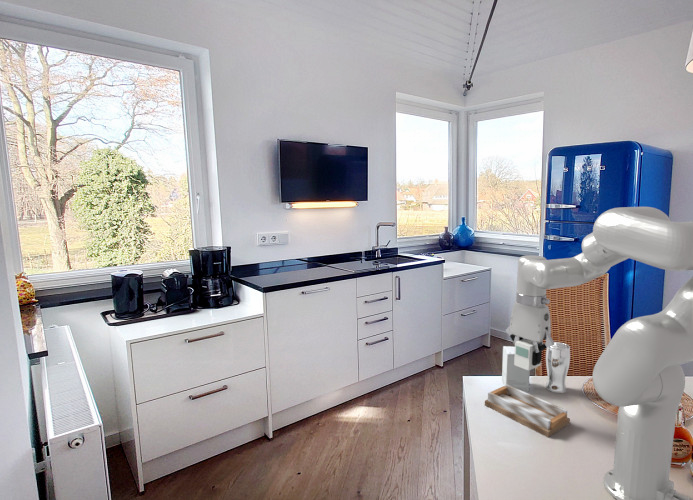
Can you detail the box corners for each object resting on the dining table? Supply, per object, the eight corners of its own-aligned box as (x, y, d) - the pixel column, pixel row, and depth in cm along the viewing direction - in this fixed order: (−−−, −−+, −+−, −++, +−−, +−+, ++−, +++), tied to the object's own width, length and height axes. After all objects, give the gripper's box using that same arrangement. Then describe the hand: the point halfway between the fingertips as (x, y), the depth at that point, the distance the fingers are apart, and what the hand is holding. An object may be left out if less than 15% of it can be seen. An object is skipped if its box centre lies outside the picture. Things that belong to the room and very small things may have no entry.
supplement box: (529, 392, 130) (531, 355, 128) (505, 390, 132) (506, 353, 130) (524, 381, 137) (525, 346, 135) (501, 380, 139) (502, 345, 137)
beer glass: (567, 396, 127) (570, 351, 125) (543, 391, 131) (545, 347, 129) (568, 386, 133) (570, 343, 131) (544, 382, 137) (547, 340, 135)
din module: (540, 365, 115) (542, 342, 114) (528, 370, 112) (529, 346, 111) (526, 360, 119) (527, 337, 118) (513, 365, 115) (514, 342, 114)
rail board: (569, 423, 112) (570, 410, 112) (548, 437, 106) (548, 423, 106) (506, 394, 129) (507, 383, 128) (484, 405, 123) (485, 393, 122)
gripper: (568, 303, 108) (563, 368, 110) (511, 291, 122) (509, 349, 124) (552, 308, 104) (548, 375, 106) (496, 295, 117) (494, 354, 120)
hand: (527, 360), depth 115 cm, fingers closed on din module, 4 cm apart
